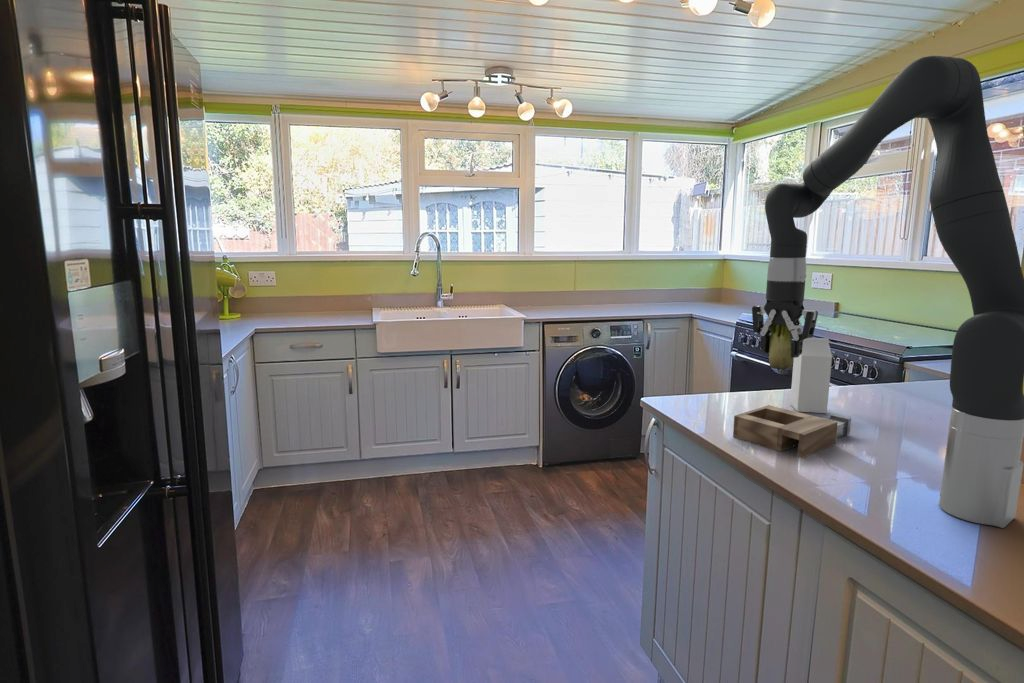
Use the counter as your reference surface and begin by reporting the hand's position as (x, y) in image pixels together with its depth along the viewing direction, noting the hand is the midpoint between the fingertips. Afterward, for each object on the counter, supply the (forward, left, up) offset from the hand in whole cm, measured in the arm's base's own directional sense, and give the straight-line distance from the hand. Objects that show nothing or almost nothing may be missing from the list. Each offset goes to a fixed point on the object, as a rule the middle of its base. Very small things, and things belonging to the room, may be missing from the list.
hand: (780, 354), depth 126 cm
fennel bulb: (0, 0, -3) cm, 3 cm away
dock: (-2, 0, -19) cm, 19 cm away
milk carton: (+7, -28, -20) cm, 35 cm away
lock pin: (-7, -8, -19) cm, 22 cm away
